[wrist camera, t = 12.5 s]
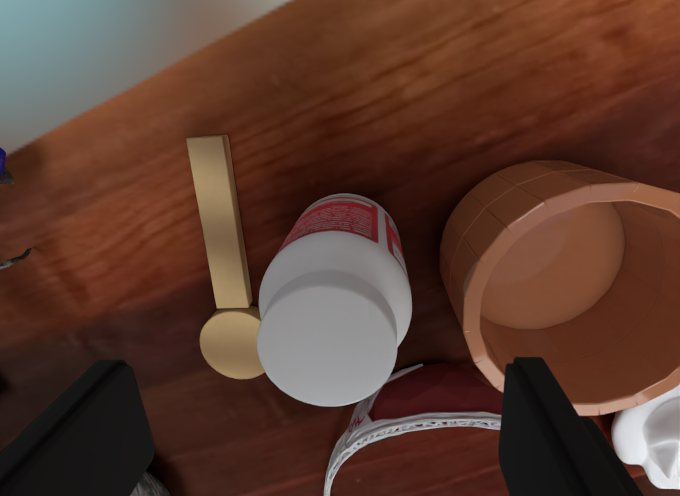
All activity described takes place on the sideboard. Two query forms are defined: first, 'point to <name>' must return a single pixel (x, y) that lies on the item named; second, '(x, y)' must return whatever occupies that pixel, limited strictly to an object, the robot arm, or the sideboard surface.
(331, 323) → the pill bottle
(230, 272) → the wooden spoon
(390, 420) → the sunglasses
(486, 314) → the pot
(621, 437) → the rose
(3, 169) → the mechanical insect
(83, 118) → the sideboard surface
